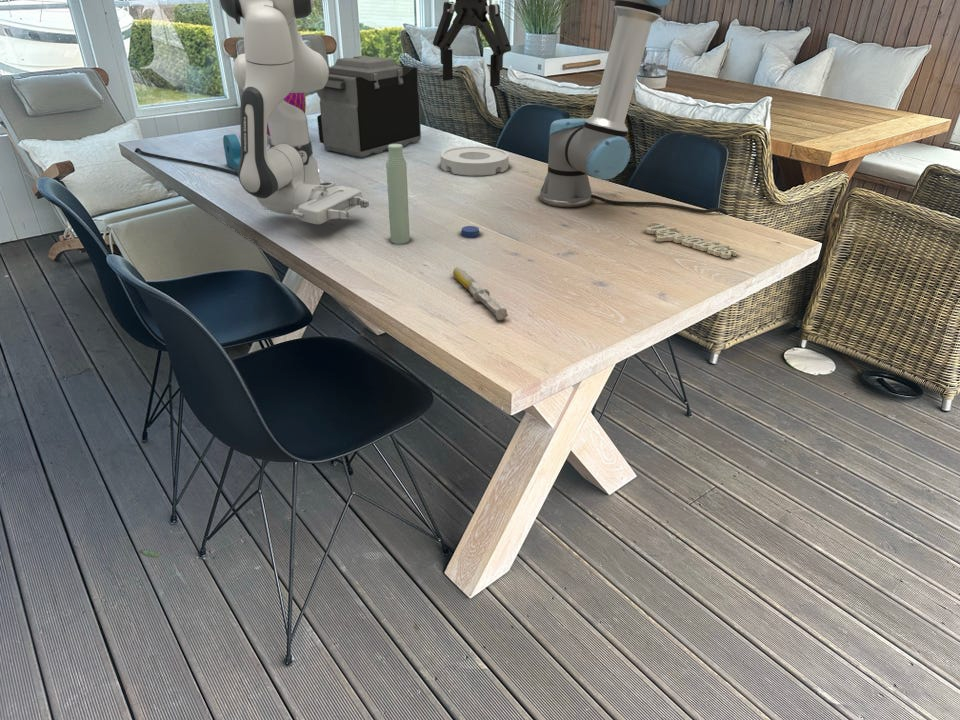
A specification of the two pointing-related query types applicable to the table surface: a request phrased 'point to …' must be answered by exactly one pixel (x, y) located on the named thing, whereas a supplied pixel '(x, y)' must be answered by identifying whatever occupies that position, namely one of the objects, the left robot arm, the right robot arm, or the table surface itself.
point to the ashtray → (474, 160)
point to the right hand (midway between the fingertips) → (470, 82)
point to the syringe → (479, 293)
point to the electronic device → (369, 106)
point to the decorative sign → (689, 240)
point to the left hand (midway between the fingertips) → (357, 209)
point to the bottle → (397, 195)
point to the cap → (470, 231)
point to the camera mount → (232, 150)
